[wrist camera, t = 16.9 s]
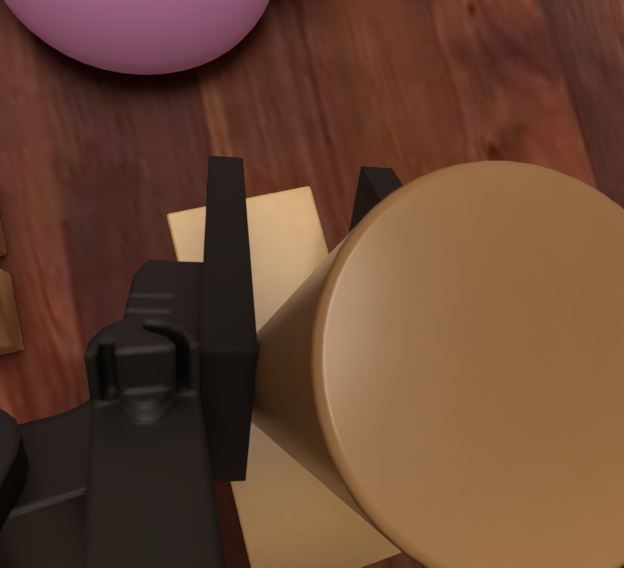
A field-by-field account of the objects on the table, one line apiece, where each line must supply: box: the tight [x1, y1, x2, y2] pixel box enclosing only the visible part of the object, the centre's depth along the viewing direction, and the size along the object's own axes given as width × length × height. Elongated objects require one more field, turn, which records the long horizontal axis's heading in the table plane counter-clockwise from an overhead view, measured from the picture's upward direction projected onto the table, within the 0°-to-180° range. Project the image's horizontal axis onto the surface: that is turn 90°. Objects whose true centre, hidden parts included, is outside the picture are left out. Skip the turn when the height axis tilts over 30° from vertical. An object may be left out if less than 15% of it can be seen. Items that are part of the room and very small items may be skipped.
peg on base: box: [167, 161, 624, 568], centre depth 10 cm, size 10×4×14 cm, turn 15°
